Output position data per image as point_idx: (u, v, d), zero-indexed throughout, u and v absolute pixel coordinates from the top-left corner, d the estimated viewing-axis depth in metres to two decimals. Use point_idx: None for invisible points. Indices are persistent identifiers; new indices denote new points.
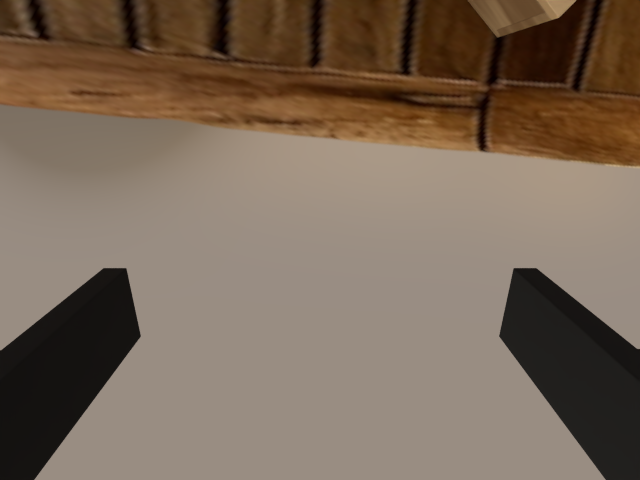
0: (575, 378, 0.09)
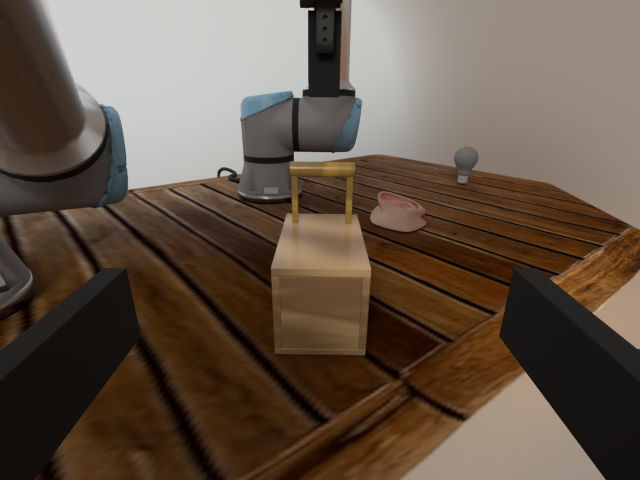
0: (575, 378, 0.09)
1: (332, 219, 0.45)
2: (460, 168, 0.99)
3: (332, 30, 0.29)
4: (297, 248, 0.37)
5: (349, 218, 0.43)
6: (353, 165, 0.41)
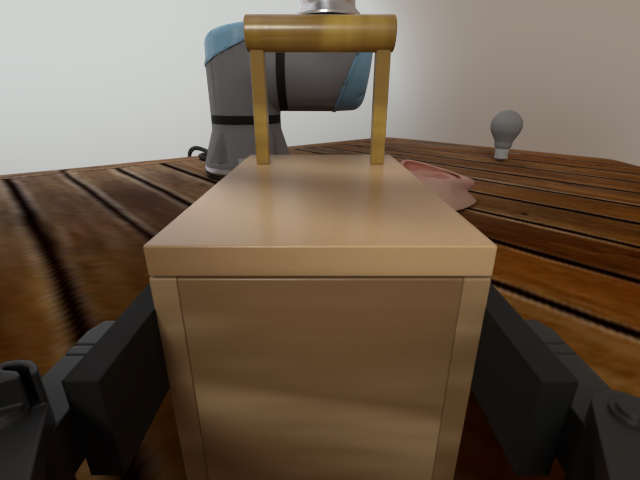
0: None
1: (342, 160, 0.22)
2: (499, 139, 0.76)
3: None
4: (253, 200, 0.13)
5: (380, 152, 0.20)
6: (392, 18, 0.18)
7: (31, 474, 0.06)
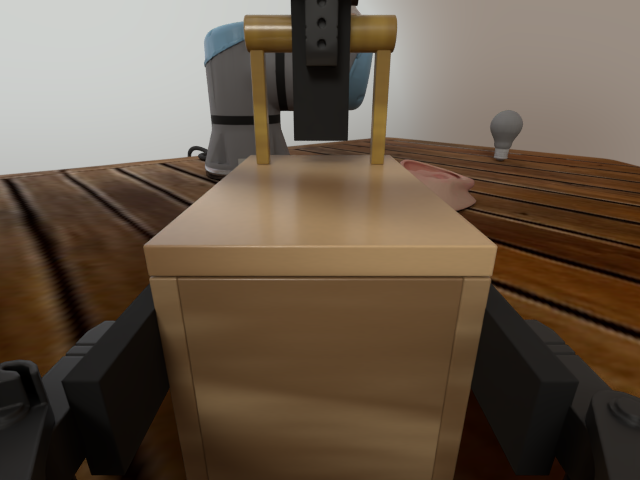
0: None
1: (342, 160, 0.22)
2: (498, 139, 0.76)
3: (335, 24, 0.16)
4: (253, 200, 0.13)
5: (380, 152, 0.20)
6: (392, 18, 0.18)
7: (31, 474, 0.06)
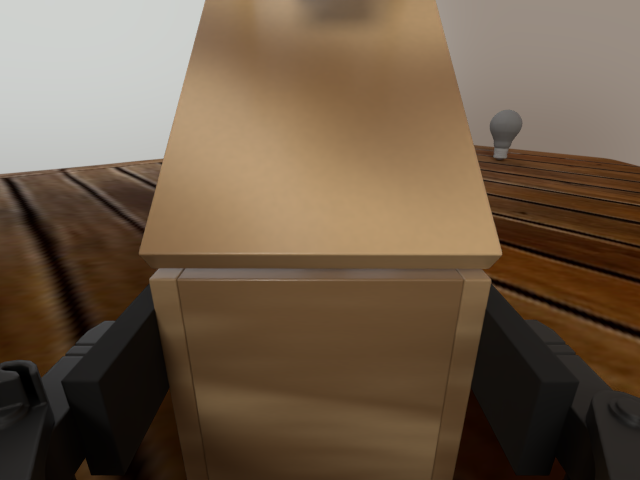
0: None
1: None
2: (498, 139, 0.76)
3: None
4: (240, 125, 0.11)
5: None
6: None
7: (31, 474, 0.06)
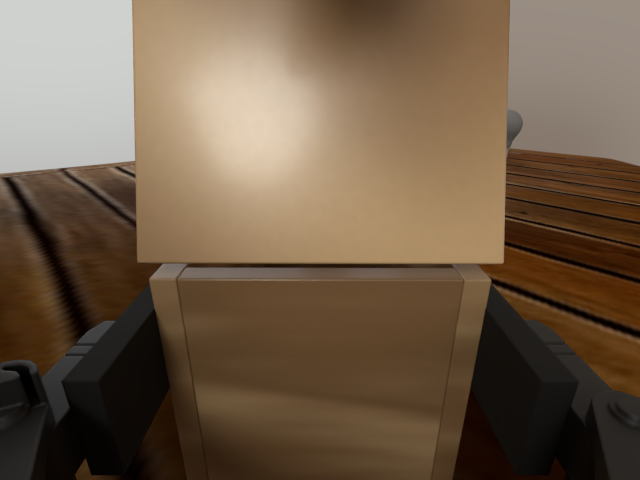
0: None
1: None
2: None
3: None
4: (219, 82, 0.09)
5: None
6: None
7: (31, 474, 0.06)
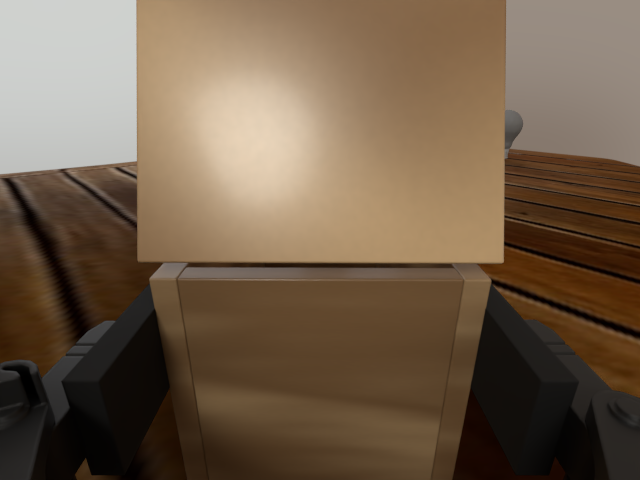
0: None
1: None
2: None
3: None
4: (220, 84, 0.09)
5: None
6: None
7: (31, 474, 0.06)
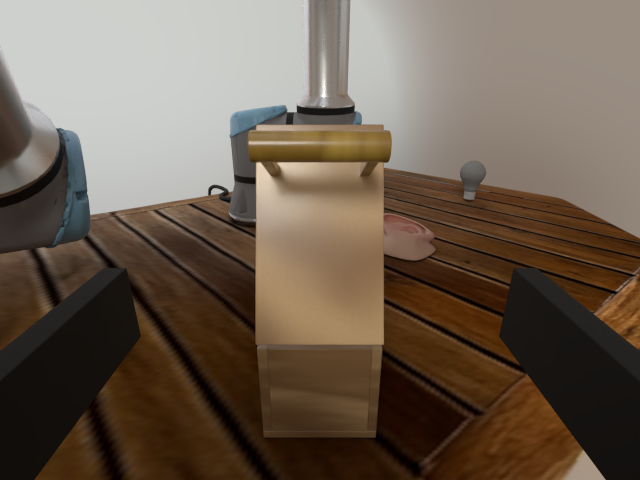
0: (575, 378, 0.09)
1: None
2: (466, 184, 0.93)
3: None
4: (285, 282, 0.26)
5: (367, 173, 0.25)
6: (386, 154, 0.19)
7: None
